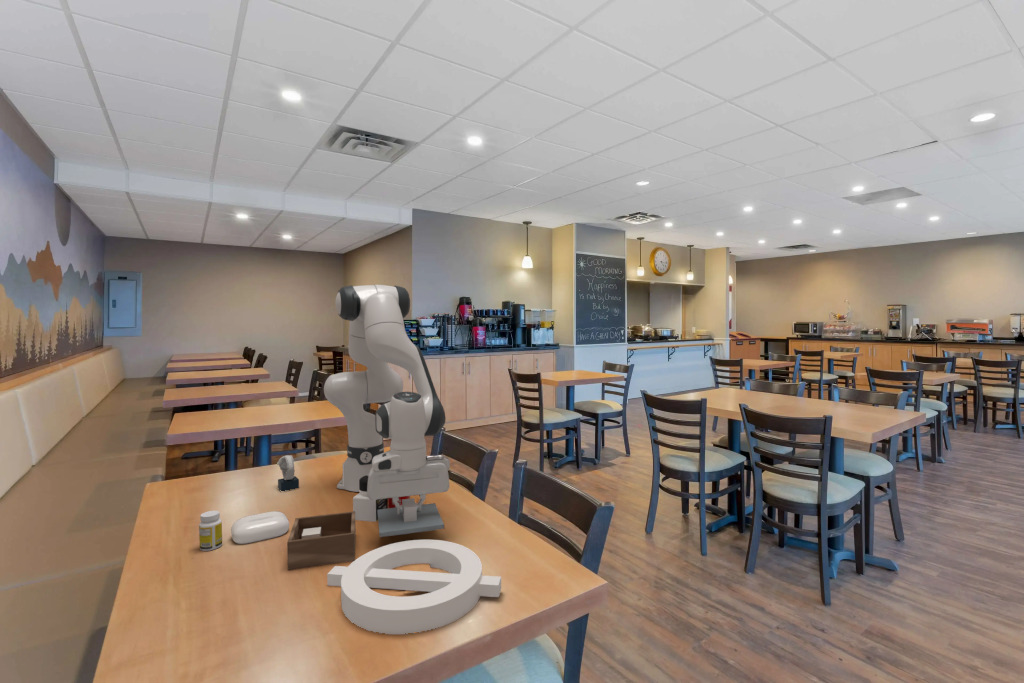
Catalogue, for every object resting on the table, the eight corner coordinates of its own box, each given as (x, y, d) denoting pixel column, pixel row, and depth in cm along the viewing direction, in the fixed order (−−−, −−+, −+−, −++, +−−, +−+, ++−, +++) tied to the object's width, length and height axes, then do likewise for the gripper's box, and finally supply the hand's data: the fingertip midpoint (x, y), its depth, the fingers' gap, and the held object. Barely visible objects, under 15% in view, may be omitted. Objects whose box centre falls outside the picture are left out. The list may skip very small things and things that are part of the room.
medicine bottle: (376, 524, 132) (376, 481, 131) (352, 522, 133) (352, 479, 133) (388, 514, 139) (387, 473, 138) (365, 512, 140) (365, 472, 140)
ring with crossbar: (323, 586, 102) (322, 564, 101) (440, 548, 119) (440, 529, 118) (373, 658, 79) (373, 630, 79) (509, 599, 96) (509, 576, 96)
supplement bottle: (219, 541, 122) (218, 508, 122) (224, 547, 119) (223, 513, 119) (197, 547, 119) (196, 513, 119) (202, 553, 116) (201, 518, 115)
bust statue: (294, 483, 167) (293, 452, 166) (300, 489, 160) (299, 457, 160) (276, 487, 163) (275, 454, 163) (282, 493, 157) (281, 460, 156)
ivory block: (303, 545, 118) (303, 529, 118) (321, 542, 119) (321, 526, 119) (302, 552, 114) (301, 535, 114) (320, 550, 115) (319, 533, 115)
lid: (377, 516, 126) (377, 496, 126) (435, 509, 130) (434, 490, 130) (379, 540, 112) (379, 517, 112) (444, 531, 116) (443, 510, 116)
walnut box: (296, 546, 119) (295, 518, 119) (355, 538, 123) (355, 511, 123) (287, 573, 106) (287, 542, 106) (354, 564, 110) (354, 533, 110)
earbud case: (230, 536, 125) (230, 516, 125) (285, 524, 132) (284, 505, 132) (233, 551, 117) (232, 529, 117) (291, 538, 124) (290, 517, 124)
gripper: (447, 451, 127) (448, 503, 127) (366, 458, 121) (367, 512, 121) (451, 457, 121) (452, 511, 121) (366, 464, 115) (367, 522, 115)
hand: (409, 512), depth 121 cm, fingers closed on lid, 3 cm apart
